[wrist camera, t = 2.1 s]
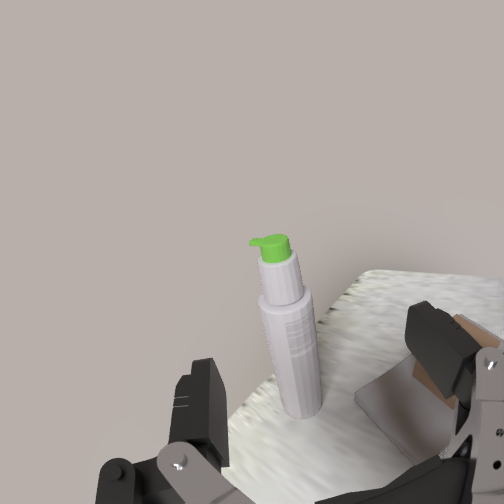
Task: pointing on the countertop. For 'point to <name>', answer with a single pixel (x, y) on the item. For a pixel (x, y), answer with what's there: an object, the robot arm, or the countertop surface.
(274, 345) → the bottle
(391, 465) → the countertop surface
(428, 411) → the pedestal stand
